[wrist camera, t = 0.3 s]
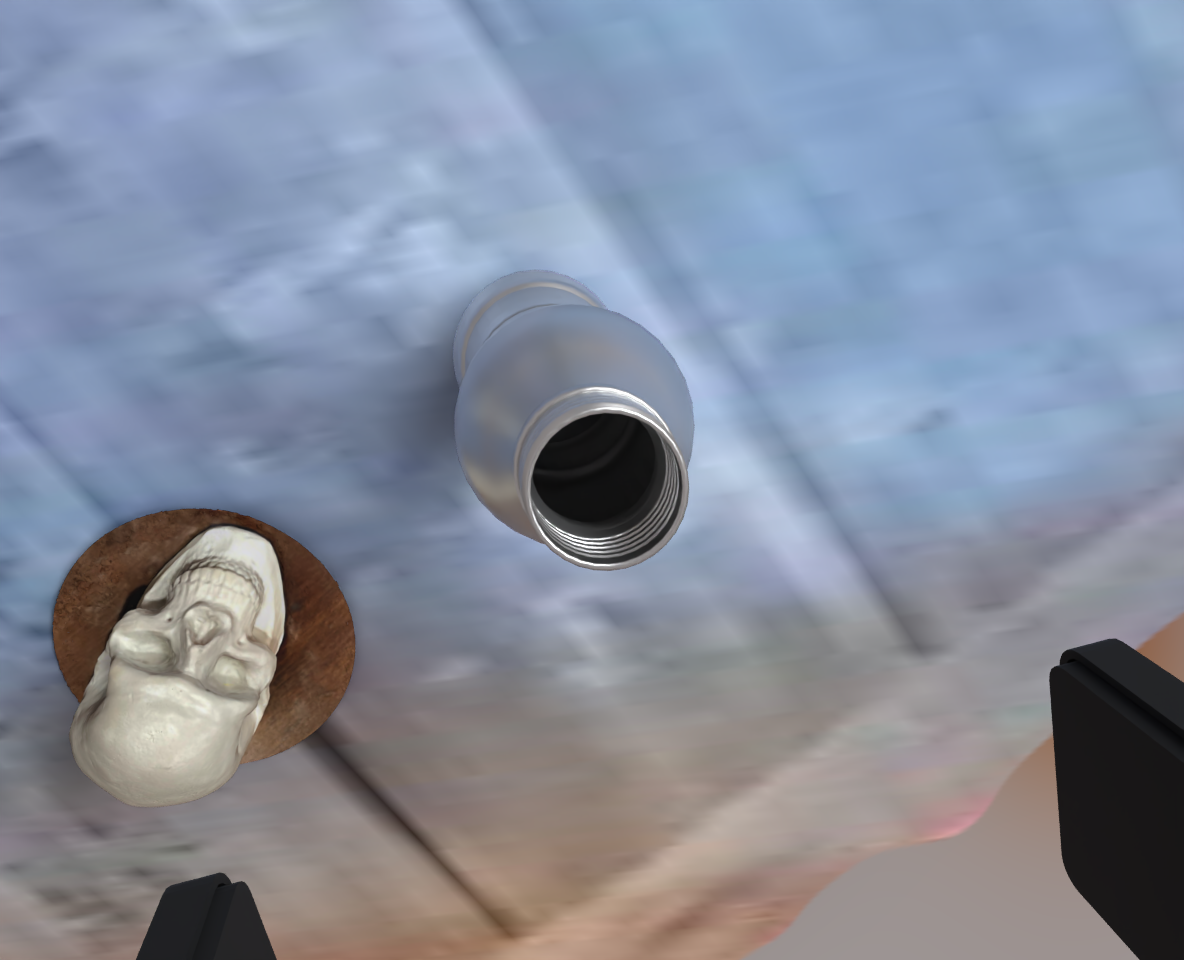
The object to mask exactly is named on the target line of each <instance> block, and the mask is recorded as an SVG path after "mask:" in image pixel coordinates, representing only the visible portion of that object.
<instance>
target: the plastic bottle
mask: <svg viewBox="0 0 1184 960" xmlns="http://www.w3.org/2000/svg"><path fill="white" fill-rule="evenodd" d="M453 364H454V370H455V376H456V380H457V383H458V385H459V388H460V389H459V394H458V398H457V402H456V407H455V419H454V437H455V442H456V448H457V454H458V459H459V461H460V464H461V467H462V469H463V472H464V474H465V477H466V480H467V481H468V483H469V485H470V486H471V488H472V489H473V491H474V493H475V494H476V496H477V497H478V499H479V500H480V501H481V503H482V504H483V505H484V506H485V507H486V508H487V509H488V510H489V511H490V512H491V513H492V514H493V515H494V516H495V517H496V518H497V519H498V520H500V521H501V522H503V523H504V524H505V525H507V526H508V527H510V528H511V529H512V530H514V531H516V532H518V533H520V534H522V535H524V536H526V537H529V538H531V539H533V540H535V541H537V542H540V543H542V544H546V545H547V546H548V547H549V549H550V550H551V551H553V552H554V553H555V554H557V555H558V556H560V557H561V558H562V559H564V560H566V561H568V562H570V563H572V564H575V565H577V566H579V567H583V568H587V569H592V570H604V571H611V570H618V569H625V568H628V567H631V566H634V565H637V564H639V563H642V562H643V561H645V560H647V559H648V558H650V557H652V556H654V555H655V554H656V553H657V552H658V551H660V550H661V549H662V548H663V547H664V546H665V545H666V544H667V543H668V542H669V541H670V539H671V538H672V537H673V535H674V534H675V533H676V531H677V529H678V527H679V525H680V524H681V522H682V520H683V517H684V514H685V510H686V507H687V504H688V494H689V481H688V471H687V468H688V465H689V461H690V458H691V454H692V447H693V437H694V416H693V406H692V400H691V397H690V394H689V390H688V387H687V384H686V380H685V378H684V376H683V374H682V373H681V371H680V369H679V367H678V365H677V363H676V361H675V359H674V358H673V357H672V355H671V354H670V353H669V352H668V350H667V349H666V348H665V347H664V346H663V344H662V343H661V342H660V341H659V340H658V339H657V338H656V337H655V336H653V335H652V334H651V333H650V332H649V331H647V330H646V329H645V328H644V327H643V326H641V325H640V324H638V323H636V322H634V321H632V320H631V319H629V318H627V317H625V316H623V315H621V314H619V313H616V312H613V311H609V310H608V308H607V307H606V306H605V305H604V303H603V302H602V301H601V300H600V298H599V297H598V296H597V295H596V294H595V293H593V292H592V291H591V290H590V289H589V288H587V287H586V286H585V285H584V284H582V283H580V282H578V281H576V280H575V279H573V278H571V277H569V276H566V275H563V274H559V273H556V272H553V271H544V270H528V271H520V272H516V273H513V274H510V275H507V276H504V277H501V278H499V279H498V280H496V281H494V282H493V283H491V284H489V285H488V286H486V287H485V288H484V289H483V290H482V291H481V292H480V293H479V294H478V295H476V296H475V297H474V299H473V300H472V301H471V303H470V304H469V306H468V307H467V308H466V310H465V311H464V313H463V315H462V318H461V320H460V322H459V324H458V327H457V330H456V335H455V339H454V344H453Z"/></svg>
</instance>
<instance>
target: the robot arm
mask: <svg viewBox="0 0 1184 960" xmlns="http://www.w3.org/2000/svg"><path fill="white" fill-rule="evenodd" d="M1049 682H1050V696H1051V710H1052V724H1053V738H1054V752H1055V766H1056V780H1057V794H1058V809H1059V823H1060V836H1061V851H1062V859H1063V863H1064V866H1065V869H1066V872H1067V874H1068V876H1069V878H1070V880H1071V882H1072V883H1073V885H1074V886H1075V888H1076V889H1077V890H1078V892H1079V893H1080V894H1081V895H1082V896H1083V897H1084V898H1085V899H1086V900H1087V902H1088V903H1089V904H1090V905H1091V906H1092V907H1093V908H1094V909H1095V910H1096V912H1097V913H1098V914H1099V915H1100V916H1101V917H1102V918H1103V919H1104V920H1105V922H1106V923H1107V924H1108V925H1109V926H1110V927H1111V928H1112V929H1113V931H1114V932H1115V933H1116V934H1117V935H1118V936H1119V937H1120V938H1121V940H1122V941H1123V942H1124V943H1125V944H1126V945H1127V946H1128V947H1129V948H1130V950H1131V951H1132V952H1133V953H1134V954H1135V955H1136V956H1137V957H1138V958H1139V960H1184V683H1183V682H1182V681H1180V680H1179V679H1177V678H1176V677H1174V676H1173V675H1171V674H1170V673H1168V672H1167V671H1165V670H1164V669H1162V668H1161V667H1159V666H1158V665H1157V664H1155V663H1153V662H1152V661H1151V660H1149V659H1148V658H1146V657H1145V656H1143V655H1142V654H1140V653H1139V652H1137V651H1136V650H1134V649H1133V648H1131V647H1130V646H1128V645H1127V644H1125V643H1124V642H1122V641H1120V640H1117V639H1107V640H1103V641H1099V642H1096V643H1092V644H1088V645H1084V646H1080V647H1077V648H1073V649H1069V650H1066V651H1065V652H1064V653H1062V656H1061V659H1060V665H1059V666H1055V667H1053V668H1052V669H1051V672H1050V679H1049ZM136 960H277V959H276V957H275V954H274V951H273V949H272V946H271V944H270V941H269V938H268V936H267V933H266V931H265V928H264V925H263V923H262V920H261V918H260V915H259V912H258V910H257V907H256V905H255V902H254V899H253V897H252V894H251V892H250V890H249V888H248V886H247V885H246V883H245V882H242V881H240V882H236V883H233V884H232V883H231V881H230V879H229V878H228V877H227V876H226V875H225V874H223V873H217V874H213V875H209V876H205V877H201V878H198V879H194V880H190V881H186V882H182V883H179V884H175V885H171V886H170V887H168V888H167V889H166V890H165V892H164V893H163V895H162V898H161V900H160V902H159V905H158V907H157V910H156V912H155V915H154V917H153V919H152V922H151V924H150V927H149V929H148V932H147V934H146V936H145V939H144V941H143V944H142V946H141V949H140V951H139V953H138V956H137V958H136Z"/></svg>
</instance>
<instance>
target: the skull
mask: <svg viewBox="0 0 1184 960" xmlns="http://www.w3.org/2000/svg"><path fill="white" fill-rule="evenodd" d="M165 517H166V518H165ZM71 572H72V573H71ZM338 586H339V585H338V584H337V582H335V580H334V579H333V577H332V576H331V575H330V573H329V572H328V571H327V569H326V568H325V567H324V565H323V564H322V563H321V562H320V561H319V560H318V559H317V558H316V557H315V556H314V555H313V554H312V553H310V552H309V551H308V550H307V549H306V548H305V547H303V546H302V545H301V544H300V543H298V542H297V541H295V540H294V539H293V538H291V537H289V536H288V535H286V534H285V533H283V532H281V531H280V530H278V529H276V528H274V527H272V526H270V525H268V524H266V523H264V522H262V521H259V520H256V519H254V518H252V517H250V516H243V515H239V514H238V513H234V512H229V511H224V510H218V509H217V510H212V509H180V510H172V511H164V512H162V511H161V512H159V513H155V514H150V515H146V516H144V517H141V518H137V519H135V520H132V521H131V522H127V523H125V524H124V525H121V526H119V527H118V528H115V529H114V530H112V531H111V532H109V533H107V534H105V535H104V536H103V537H101V538H100V539H99V540H98V541H96V542H95V543H94V544H93V545H92V546H90V547H89V548H88V549H87V550H86V551H85V552H84V553H83V555H82V556H81V557H80V558H79V559H78V560H77V562H76V563H75V564H74V566H73V567H72V569H71V570H70V572H69V573H68V575H67V577H66V579H65V581H64V583H63V585H62V587H61V589H60V593H59V594H58V595H59V596H58V598H57V600H56V601H57V603H56V605H55V609H54V610H55V611H54V621H53V625H54V626H53V636H54V639H53V640H54V648H55V652H56V656H57V659H58V661H59V666H60V670H62V672H63V675H64V679H65V681H66V682H67V685H68V687H70V690H71V691H72V693H73V694H74V695H75V696H76V698H77V699H78V702H79V703H80V705H79V707H78V709H77V711H76V713H75V715H74V717H73V722H72V725H71V728H70V732H69V740H70V743H71V747H72V753H73V757H74V759H75V761H76V763H77V765H78V766H79V767H80V769H81V770H82V772H83V773H84V774H85V775H86V776H87V777H89V778H90V779H91V780H92V781H93V782H94V783H95V784H97V785H98V786H100V787H101V788H102V789H104V790H105V791H106V792H108V793H109V794H111V795H112V796H114V797H115V798H116V799H118V800H119V801H121V802H123V803H125V804H128V805H131V806H137V807H162V806H170V805H177V804H182V803H186V802H190V801H194V800H197V799H200V798H202V797H204V796H206V795H208V794H210V793H212V792H214V791H216V790H217V789H219V788H220V787H221V786H223V785H224V784H225V783H226V782H227V781H228V780H229V779H230V778H231V777H232V776H233V774H234V773H235V771H236V770H237V768H238V766H239V764H243V763H248V762H252V761H256V760H261V759H264V758H268V757H270V756H273V755H275V754H278V753H280V752H283V751H285V750H287V749H289V748H290V747H292V746H294V745H296V744H298V743H299V742H301V741H302V740H304V739H305V738H307V737H308V736H309V735H310V734H312V733H313V732H315V731H316V730H317V729H318V728H319V727H320V726H321V725H322V724H323V723H324V722H325V721H326V720H327V719H328V717H329V716H330V715H331V714H332V712H333V711H334V710H335V708H336V707H337V705H338V704H339V702H340V700H341V699H342V697H343V695H344V693H345V691H346V689H347V686H348V684H349V681H350V678H351V674H352V670H353V665H354V658H355V634H354V627H353V621H352V617H351V614H350V611H349V607H348V605H347V603H346V600H345V599H344V596H343V594H342V592H341V591H340V589H339V587H338ZM69 591H70V592H69ZM347 623H348V624H347ZM68 632H69V633H68Z"/></svg>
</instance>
